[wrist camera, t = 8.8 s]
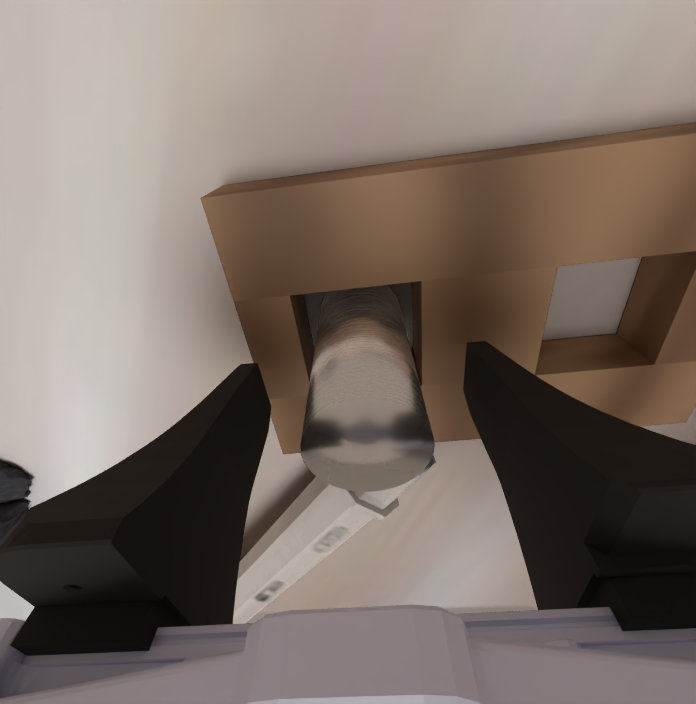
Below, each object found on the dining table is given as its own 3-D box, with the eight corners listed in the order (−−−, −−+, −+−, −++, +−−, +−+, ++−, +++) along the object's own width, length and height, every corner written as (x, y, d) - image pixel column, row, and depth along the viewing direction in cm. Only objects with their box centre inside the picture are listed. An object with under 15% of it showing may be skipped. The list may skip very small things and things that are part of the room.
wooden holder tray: (769, 112, 12) (857, 112, 10) (648, 388, 19) (686, 422, 17) (223, 185, 13) (200, 198, 11) (290, 418, 20) (283, 454, 18)
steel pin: (398, 271, 15) (435, 393, 9) (401, 343, 17) (433, 487, 11) (314, 280, 15) (287, 406, 9) (327, 349, 17) (312, 495, 11)
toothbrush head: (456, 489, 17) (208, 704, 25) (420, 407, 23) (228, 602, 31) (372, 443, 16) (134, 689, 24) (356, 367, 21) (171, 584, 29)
